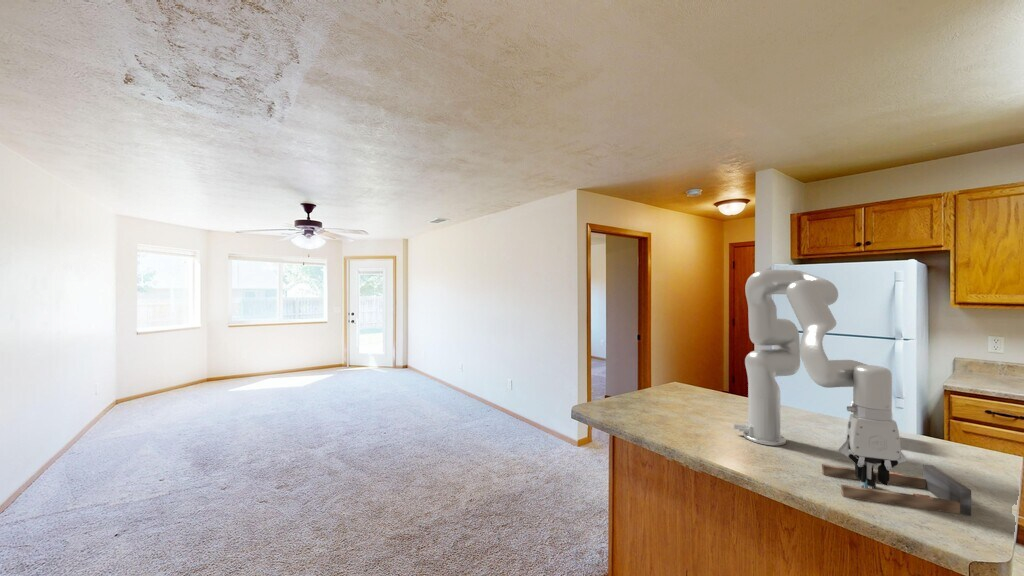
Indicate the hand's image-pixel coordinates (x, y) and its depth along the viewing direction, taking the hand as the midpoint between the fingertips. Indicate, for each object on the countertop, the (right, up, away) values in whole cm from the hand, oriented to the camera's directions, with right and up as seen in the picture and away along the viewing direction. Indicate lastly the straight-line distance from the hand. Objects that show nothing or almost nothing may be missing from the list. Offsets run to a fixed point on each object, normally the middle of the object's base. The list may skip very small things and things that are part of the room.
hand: (871, 480), depth 103 cm
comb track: (+3, -2, -1) cm, 4 cm away
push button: (-1, -3, +1) cm, 3 cm away
